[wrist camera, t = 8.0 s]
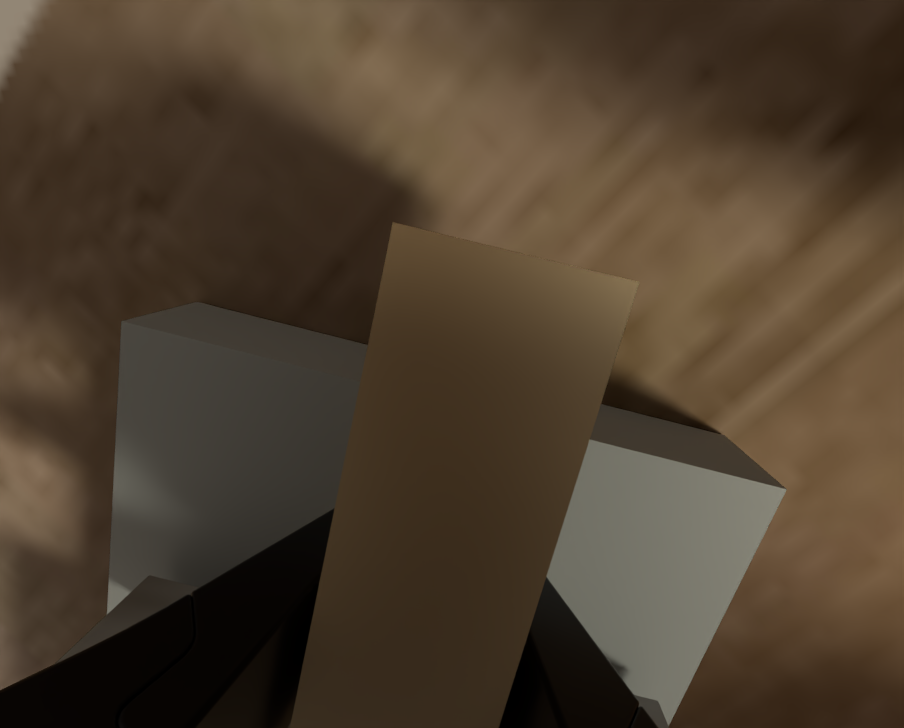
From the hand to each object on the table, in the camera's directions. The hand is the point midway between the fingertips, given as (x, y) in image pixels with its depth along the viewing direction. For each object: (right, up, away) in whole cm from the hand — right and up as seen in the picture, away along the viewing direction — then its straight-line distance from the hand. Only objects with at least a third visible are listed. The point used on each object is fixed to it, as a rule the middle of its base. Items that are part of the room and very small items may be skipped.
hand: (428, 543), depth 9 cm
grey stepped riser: (0, -1, +4) cm, 4 cm away
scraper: (0, +1, +1) cm, 1 cm away
